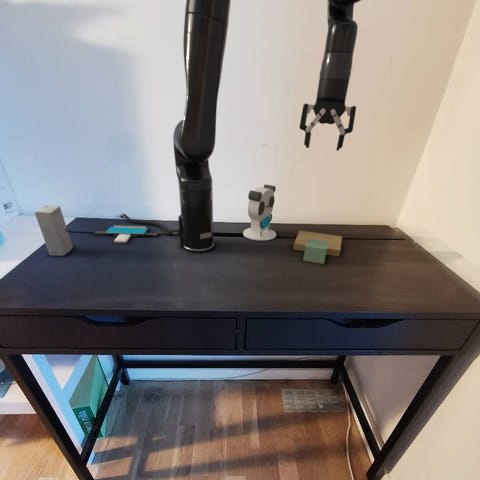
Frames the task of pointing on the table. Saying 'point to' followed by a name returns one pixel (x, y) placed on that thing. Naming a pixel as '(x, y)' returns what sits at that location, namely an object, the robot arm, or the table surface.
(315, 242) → the green rectangular block
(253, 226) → the panda figurine
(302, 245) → the base pad
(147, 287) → the table surface
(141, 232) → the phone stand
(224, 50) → the robot arm
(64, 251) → the cosmetic box
